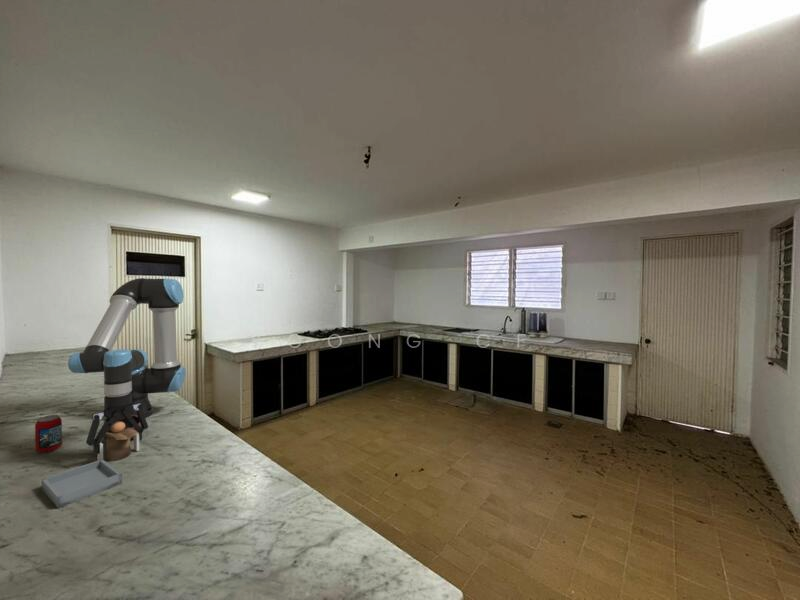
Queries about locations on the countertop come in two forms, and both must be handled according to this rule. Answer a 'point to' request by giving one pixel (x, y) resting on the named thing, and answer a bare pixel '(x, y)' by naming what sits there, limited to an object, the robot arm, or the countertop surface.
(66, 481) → the tray
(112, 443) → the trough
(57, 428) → the beverage can
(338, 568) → the countertop surface
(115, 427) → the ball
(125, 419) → the bowl
